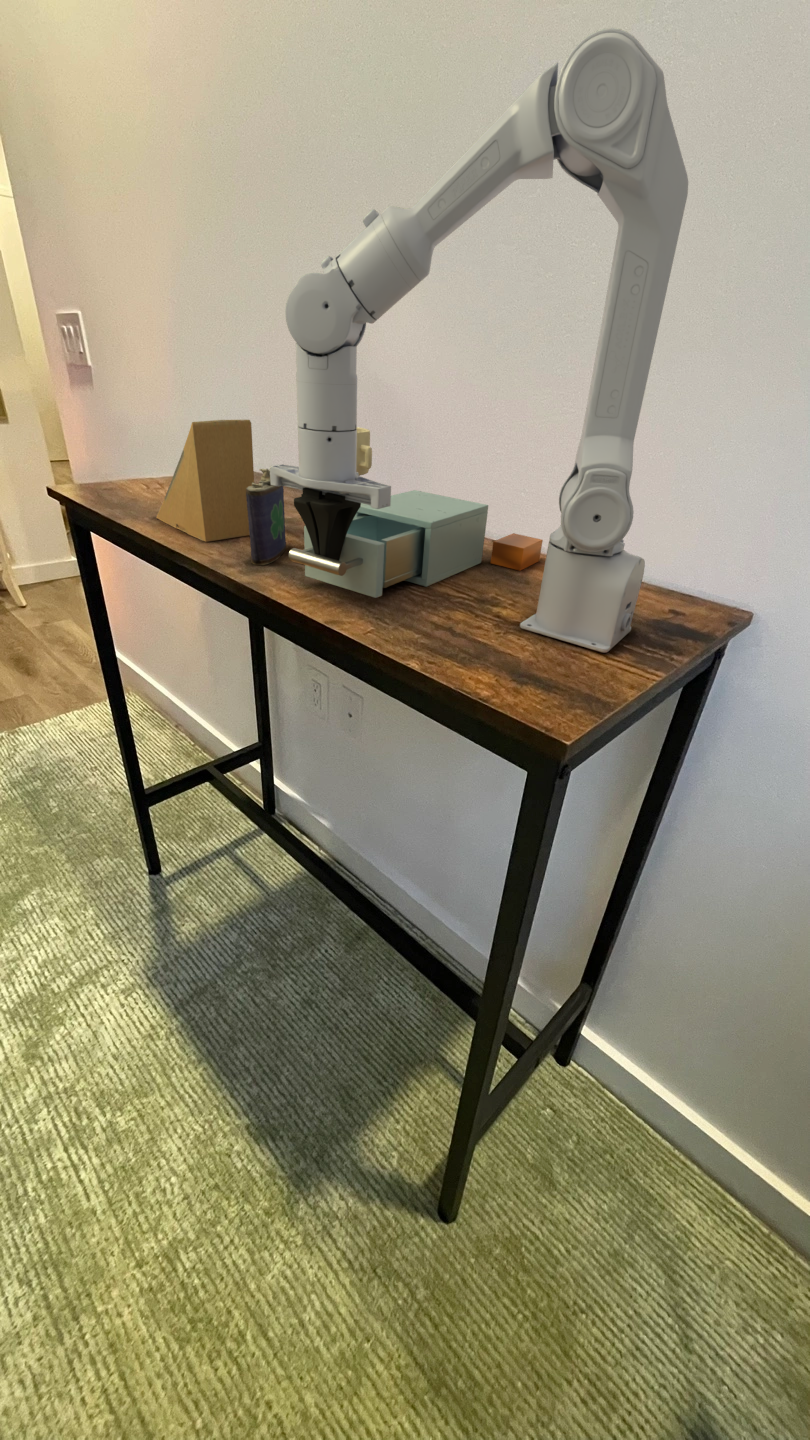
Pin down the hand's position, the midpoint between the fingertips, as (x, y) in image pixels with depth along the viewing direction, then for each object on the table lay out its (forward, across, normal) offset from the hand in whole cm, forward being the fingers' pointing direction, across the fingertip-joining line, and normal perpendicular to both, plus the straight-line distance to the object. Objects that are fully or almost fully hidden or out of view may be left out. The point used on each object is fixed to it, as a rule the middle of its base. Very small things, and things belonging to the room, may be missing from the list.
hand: (328, 565), depth 69 cm
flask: (+4, +16, -7) cm, 18 cm away
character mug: (+4, +23, -31) cm, 39 cm away
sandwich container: (+4, +33, -10) cm, 34 cm away
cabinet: (+4, 0, -18) cm, 18 cm away
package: (+4, -9, -28) cm, 30 cm away
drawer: (+3, 0, -6) cm, 6 cm away
